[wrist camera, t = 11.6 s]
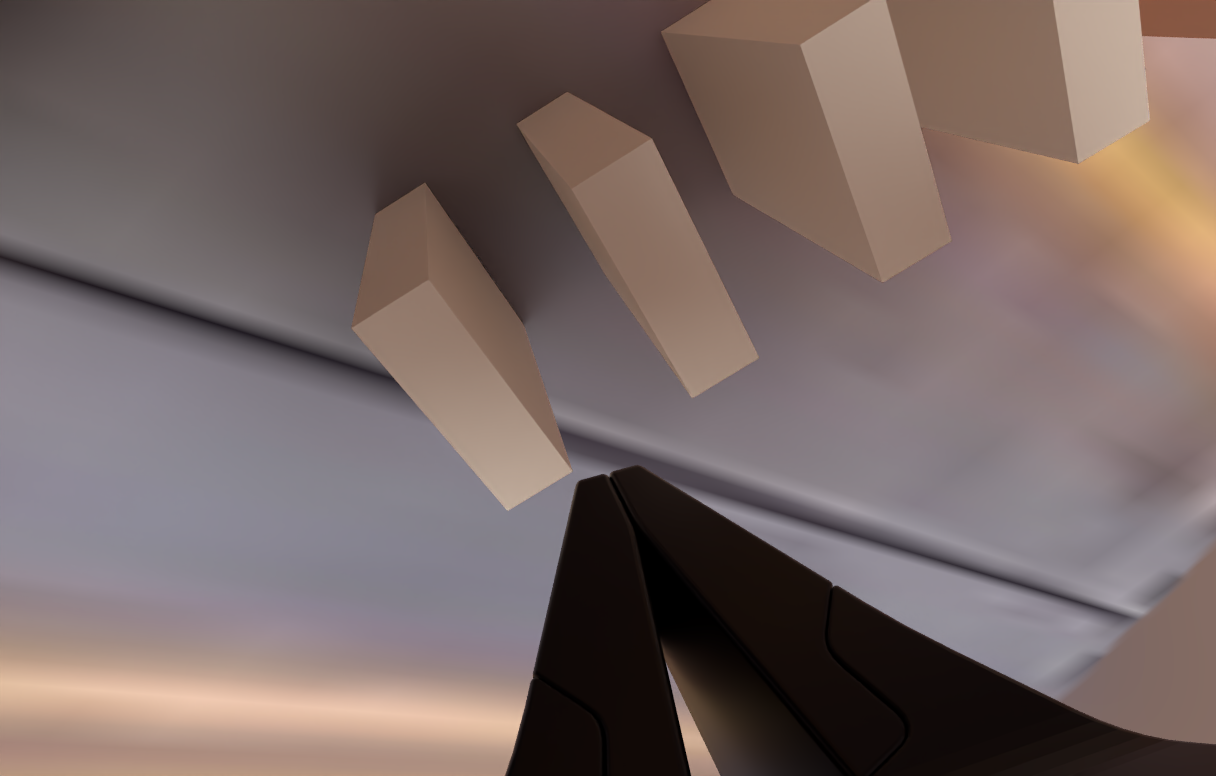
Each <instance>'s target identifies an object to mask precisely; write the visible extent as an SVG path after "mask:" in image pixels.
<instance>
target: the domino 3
mask: <svg viewBox="0 0 1216 776" xmlns="http://www.w3.org/2000/svg"><path fill="white" fill-rule="evenodd" d="M661 34H662V36H663V39H664V41H665V43H666V45H667V48H668V50H669V52H670V54H671V57H672V59H673V61H674V63H675V66H676V68H677V70H678V72H679V75H680V77H681V79H682V81H683V84H684V86H685V88H686V90H687V93H688V95H689V97H690V99H691V102H692V104H693V106H694V108H695V111H696V113H697V115H698V117H699V120H700V122H701V124H702V126H703V129H704V131H705V133H706V135H707V138H708V140H709V142H710V144H711V146H712V149H713V151H714V153H715V155H716V158H717V160H718V162H719V164H720V167H721V169H722V171H723V173H724V176H725V178H726V180H727V182H728V185H729V187H730V189H731V191H732V194H733V195H734V196H736V197H737V198H739V199H741V200H743V201H744V202H746V203H748V204H749V205H751V206H753V207H754V208H756V209H758V210H760V211H761V212H763V213H765V214H766V215H768V216H770V217H771V218H773V219H775V220H777V221H778V222H780V223H782V224H783V225H785V226H787V227H788V228H790V229H792V230H794V231H795V232H797V233H799V234H800V235H802V236H804V237H805V238H807V239H809V240H810V241H812V242H814V243H816V244H817V245H819V246H821V247H822V248H824V249H826V250H827V251H829V252H831V253H833V254H834V255H836V256H838V257H839V258H841V259H843V260H844V261H846V262H848V263H850V264H851V265H853V266H855V267H856V268H858V269H860V270H861V271H863V272H865V273H867V274H868V275H870V276H872V277H873V278H875V279H877V280H878V281H880V282H882V283H883V282H885V281H887V280H888V279H890V278H892V277H893V276H895V275H897V274H898V273H900V272H902V271H903V270H905V269H906V268H908V267H910V266H911V265H913V264H915V263H916V262H918V261H920V260H921V259H923V258H925V257H926V256H928V255H930V254H931V253H933V252H934V251H936V250H938V249H939V248H941V247H943V246H944V245H946V244H948V243H949V242H951V241H952V240H951V236H950V233H949V229H948V225H947V222H946V218H945V214H944V211H943V207H942V204H941V200H940V196H939V193H938V189H937V185H936V182H935V178H934V174H933V171H932V167H931V163H930V160H929V156H928V153H927V149H926V145H925V142H924V138H923V134H922V131H921V127H920V123H919V120H918V116H917V112H916V109H915V105H914V102H913V98H912V94H911V91H910V87H909V83H908V80H907V76H906V72H905V69H904V65H903V61H902V58H901V54H900V51H899V47H898V43H897V40H896V36H895V32H894V29H893V25H892V21H891V18H890V14H889V10H888V7H887V3H886V0H710V1H708V2H707V3H705V4H704V5H702V6H701V7H699V8H697V9H696V10H694V11H693V12H691V13H690V14H688V15H686V16H685V17H683V18H682V19H680V20H679V21H677V22H675V23H674V24H672V25H671V26H669V27H668V28H666V29H664V30H663V31H661Z"/></svg>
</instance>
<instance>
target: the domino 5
mask: <svg viewBox="0 0 1216 776" xmlns="http://www.w3.org/2000/svg"><path fill="white" fill-rule="evenodd" d="M1139 10H1140V21H1141V31H1142V36H1158V37H1186V38H1214V39H1216V0H1139Z"/></svg>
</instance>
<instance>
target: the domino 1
mask: <svg viewBox="0 0 1216 776" xmlns="http://www.w3.org/2000/svg"><path fill="white" fill-rule="evenodd" d="M351 329H352V330H353V331H354V332H355V333H356V334H357V336H358V337H359V338H360V339H361V340H362V341H363V343H364V344H365V345H366V346H367V347H368V348H369V350H370V351H371V352H372V353H373V354H374V355H375V357H376V358H377V359H378V360H379V361H380V362H381V364H382V365H383V366H384V367H385V368H386V369H387V371H388V372H389V373H390V374H391V375H392V376H393V378H394V379H395V380H396V381H397V382H398V383H399V385H400V386H401V387H402V388H403V389H404V391H405V392H406V393H407V394H408V395H409V396H410V398H411V399H412V400H413V401H414V402H415V403H416V405H417V406H418V407H419V408H420V409H421V410H422V412H423V413H424V414H425V415H426V416H427V417H428V419H429V420H430V421H431V422H432V423H433V424H434V426H435V427H436V428H437V429H438V430H439V431H440V433H441V434H442V435H443V436H444V437H445V438H446V440H447V441H448V442H449V443H450V444H451V445H452V447H453V448H454V449H455V450H456V451H457V452H458V454H459V455H460V456H461V457H462V458H463V459H464V461H465V462H466V463H467V464H468V465H469V466H470V468H471V469H472V470H473V471H474V472H475V473H476V475H477V476H478V477H479V478H480V479H481V480H482V482H483V483H484V484H485V485H486V486H487V487H488V489H489V490H490V491H491V492H492V493H493V494H494V496H495V497H496V498H497V499H498V500H499V501H500V503H501V504H502V505H503V506H504V507H505V508H506V510H507V511H508V510H510V509H512V508H513V507H515V506H516V505H518V504H520V503H521V502H523V501H525V500H526V499H528V498H530V497H531V496H533V495H535V494H536V493H538V492H540V491H541V490H543V489H545V488H546V487H548V486H549V485H551V484H553V483H554V482H556V481H558V480H559V479H561V478H563V477H564V476H566V475H568V474H569V473H571V472H573V471H572V468H571V465H570V462H569V459H568V456H567V453H566V450H565V447H564V444H563V441H562V438H561V435H560V432H559V429H558V426H557V423H556V420H555V417H554V414H553V411H552V408H551V405H550V402H549V399H548V396H547V393H546V390H545V387H544V384H543V381H542V378H541V375H540V372H539V369H538V366H537V363H536V360H535V357H534V354H533V351H532V348H531V345H530V342H529V339H528V336H527V333H526V330H525V327H524V325H523V323H522V322H521V320H520V319H519V317H518V316H517V314H516V313H515V312H514V310H513V309H512V307H511V306H510V304H509V303H508V301H507V300H506V299H505V297H504V296H503V294H502V293H501V291H500V290H499V288H498V287H497V286H496V284H495V283H494V281H493V280H492V278H491V277H490V275H489V274H488V273H487V271H486V270H485V268H484V267H483V265H482V264H481V263H480V261H479V260H478V258H477V257H476V255H475V254H474V252H473V251H472V250H471V248H470V247H469V245H468V244H467V242H466V241H465V239H464V238H463V237H462V235H461V234H460V232H459V231H458V229H457V228H456V226H455V225H454V224H453V222H452V221H451V219H450V218H449V216H448V215H447V213H446V212H445V211H444V209H443V208H442V206H441V205H440V203H439V202H438V200H437V199H436V198H435V196H434V195H433V193H432V192H431V190H430V189H429V187H428V186H427V185H426V183H423V184H422V185H420V186H419V187H417V188H415V189H414V190H412V191H411V192H409V193H408V194H406V195H404V196H403V197H401V198H400V199H398V200H397V201H395V202H393V203H392V204H390V205H389V206H387V207H386V208H384V209H383V210H381V211H379V212H378V213H376V214H375V218H374V222H373V227H372V232H371V237H370V241H369V246H368V251H367V256H366V260H365V265H364V270H363V275H362V279H361V284H360V289H359V294H358V298H357V303H356V308H355V313H354V318H353V322H352V327H351Z"/></svg>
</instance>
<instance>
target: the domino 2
mask: <svg viewBox="0 0 1216 776" xmlns="http://www.w3.org/2000/svg"><path fill="white" fill-rule="evenodd" d="M516 125H517V126H518V128H519V130H520V131H521V133H522V135H523V136H524V138H525V140H526V142H527V143H528V145H529V147H530V148H531V150H532V152H533V153H534V155H535V157H536V159H537V160H538V162H539V164H540V165H541V167H542V169H543V170H544V172H545V174H546V175H547V177H548V179H549V181H550V182H551V184H552V186H553V187H554V189H555V191H556V192H557V194H558V196H559V198H560V199H561V201H562V203H563V204H564V206H565V208H566V209H567V211H568V213H569V214H570V216H571V218H572V220H573V221H574V223H575V225H576V226H577V228H578V230H579V231H580V233H581V235H582V237H583V238H584V240H585V242H586V243H587V245H588V247H589V248H590V250H591V252H592V253H593V255H594V257H595V259H596V260H597V262H598V264H599V265H600V267H601V269H602V270H603V272H604V274H605V275H606V277H607V278H608V280H609V281H610V282H611V284H612V285H613V287H614V288H615V290H616V291H617V292H618V294H619V295H620V297H621V298H622V299H623V301H624V302H625V304H626V305H627V307H628V308H629V309H630V311H631V312H632V314H633V315H634V317H635V318H636V319H637V321H638V322H639V324H640V325H641V326H642V328H643V329H644V331H645V332H646V334H647V335H648V336H649V338H650V339H651V341H652V342H653V344H654V345H655V346H656V348H657V349H658V351H659V352H660V353H661V355H662V356H663V358H664V359H665V361H666V362H667V363H668V365H669V366H670V368H671V369H672V371H673V372H674V373H675V375H676V376H677V378H678V379H679V380H680V382H681V383H682V385H683V386H684V388H685V389H686V390H687V392H688V393H689V395H690V396H691V398H694V397H696V396H697V395H699V394H701V393H702V392H704V391H706V390H707V389H709V388H710V387H712V386H714V385H715V384H717V383H719V382H720V381H722V380H724V379H725V378H727V377H729V376H730V375H732V374H734V373H735V372H737V371H738V370H740V369H742V368H743V367H745V366H747V365H748V364H750V363H752V362H753V361H755V360H757V359H758V358H759V356H758V354H757V352H756V350H755V348H754V346H753V344H752V342H751V340H750V338H749V336H748V334H747V332H746V330H745V328H744V326H743V324H742V322H741V320H740V317H739V315H738V313H737V311H736V309H735V307H734V305H733V303H732V301H731V299H730V297H729V295H728V293H727V291H726V289H725V287H724V285H723V283H722V281H721V279H720V277H719V275H718V273H717V270H716V268H715V266H714V264H713V262H712V260H711V258H710V256H709V254H708V252H707V250H706V248H705V246H704V244H703V242H702V240H701V238H700V236H699V234H698V232H697V230H696V228H695V226H694V223H693V221H692V219H691V217H690V215H689V213H688V211H687V209H686V207H685V205H684V203H683V201H682V199H681V197H680V195H679V193H678V191H677V189H676V187H675V185H674V183H673V181H672V179H671V176H670V174H669V172H668V170H667V168H666V166H665V164H664V162H663V160H662V158H661V156H660V154H659V152H658V150H657V148H656V146H655V144H654V142H653V140H652V138H650V137H649V136H647V135H645V134H643V133H641V132H639V131H638V130H636V129H634V128H632V127H630V126H629V125H627V124H625V123H623V122H621V121H620V120H618V119H616V118H614V117H612V116H610V115H609V114H607V113H605V112H603V111H601V110H600V109H598V108H596V107H594V106H592V105H590V104H589V103H587V102H585V101H583V100H581V99H580V98H578V97H576V96H574V95H572V94H571V93H569V92H566V93H564V94H563V95H561V96H560V97H558V98H556V99H555V100H553V101H552V102H550V103H549V104H547V105H545V106H544V107H542V108H541V109H539V110H538V111H536V112H534V113H533V114H531V115H530V116H528V117H527V118H525V119H523V120H522V121H520V122H519V123H517V124H516Z"/></svg>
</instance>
